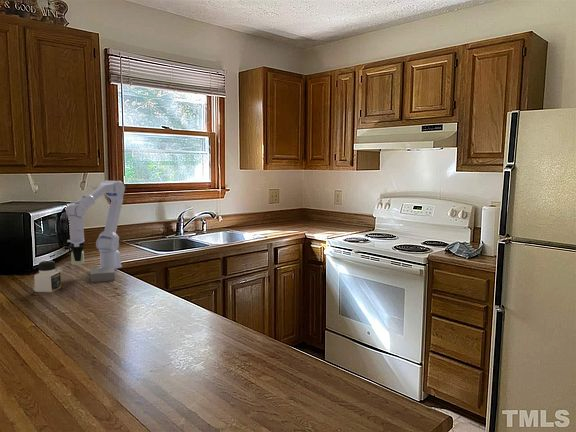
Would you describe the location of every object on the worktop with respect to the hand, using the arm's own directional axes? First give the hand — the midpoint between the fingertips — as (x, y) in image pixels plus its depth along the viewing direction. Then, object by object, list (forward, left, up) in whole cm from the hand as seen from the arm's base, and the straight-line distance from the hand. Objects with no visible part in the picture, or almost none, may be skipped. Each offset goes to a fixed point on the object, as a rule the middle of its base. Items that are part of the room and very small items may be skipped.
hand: (78, 259), depth 202 cm
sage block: (0, 0, -2) cm, 2 cm away
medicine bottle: (+20, +4, -9) cm, 22 cm away
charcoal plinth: (-3, +11, -9) cm, 14 cm away
